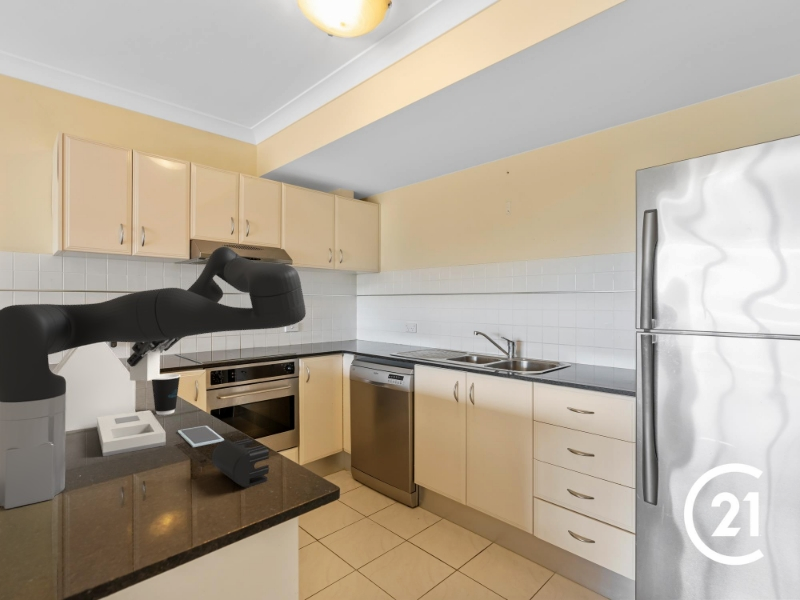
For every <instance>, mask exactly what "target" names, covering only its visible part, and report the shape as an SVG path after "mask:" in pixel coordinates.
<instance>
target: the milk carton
mask: <svg viewBox="0 0 800 600" xmlns="http://www.w3.org/2000/svg"><path fill="white" fill-rule="evenodd" d="M51 372H52V373H54V374H56V375H60V376H62V377H64V378H65V380H66V432H69V431H77V430H78V431H79V430H83V429H84V430H85V429H92V428H97V417H103V416H110V415H118V414H125V413H133V412H136V386H137V385H136V384H137V383H136V381H131V380H130V370H128V368H127V367H126V366H125V365H124V363H123V362H122V361H121V360H120V358H119V357H118V356H117V355H116V354H115V352H114V350H112V349H111V347H110V346H109V345H108V344H107V342H100V343H94V344H90V345H85V346H80V347H76V348H72V349H68V351H67V352H66V353H65V355H64V356H63V357H62V359H60V361H59V362H58V363H57V365H56V366H55V367H54V368H53V370H52V371H51Z"/></svg>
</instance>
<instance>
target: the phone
mask: <svg viewBox="0 0 800 600" xmlns="http://www.w3.org/2000/svg"><path fill="white" fill-rule="evenodd" d="M177 433H178V434H179V435H180V436H181V437H182V438H183V439H184V440H185V441H186V442H187V443H188V444H189V445H190V446H191V447H192V448H196V447H201V446H206V445H210V444H216V443H220V442H222V441H224V440H225V439H224V438H223V437H222V436H221V435H220V434H218V433H217V432H215V431H214V430H213V429H212V428H210V426H208V425H202V426H195V427H189V428H183V429H179V430H177Z"/></svg>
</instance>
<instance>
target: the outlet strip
mask: <svg viewBox="0 0 800 600" xmlns="http://www.w3.org/2000/svg"><path fill="white" fill-rule="evenodd" d="M96 430H97V434H98V439H99V445H100V449H101V453H102V457H108V456H113V455H118V454H124V453H130V452H136V451H139V450H140V451H141V450H145V449H151V448H157V447H162V446H163V447H164V446H166V444H167V443H166V442H167V441H166V438H167V437H166V435H167V433H166V431H165V429H164V428H163V427H162V425H161V424H160V421H158V419H157V418H156V417H155V415H154V413H153V412H152V411H151V410H143V411H135V412H133V413H125V414H118V415H110V416H103V417H97V427H96Z"/></svg>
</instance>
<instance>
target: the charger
mask: <svg viewBox="0 0 800 600" xmlns="http://www.w3.org/2000/svg"><path fill="white" fill-rule="evenodd" d="M135 343H136V342H129V346H130V347H129V357H130V356H131V355H132V354H133V353H134V351H133V349H132V347H133V346H134V344H135ZM151 345H152V346H153V347H154V345H153V344H151ZM147 349H148V348H147ZM147 349H146V350H147ZM146 350H145V351H146ZM160 362H161V353H160V347H159V348H157V349H156V350H155V351H150V352H149V353H148V354H147V355H146V356H144V357H143V358H142V359H141V360H140V361H139V363H138V364H137V365H136V366H133V367H131V366H130V365H129V372H130V380H131V381H137V382H149V381H152V380H153V379H156V378H160V374H161V373H160V372H161V369H160V368H161V363H160Z"/></svg>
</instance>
